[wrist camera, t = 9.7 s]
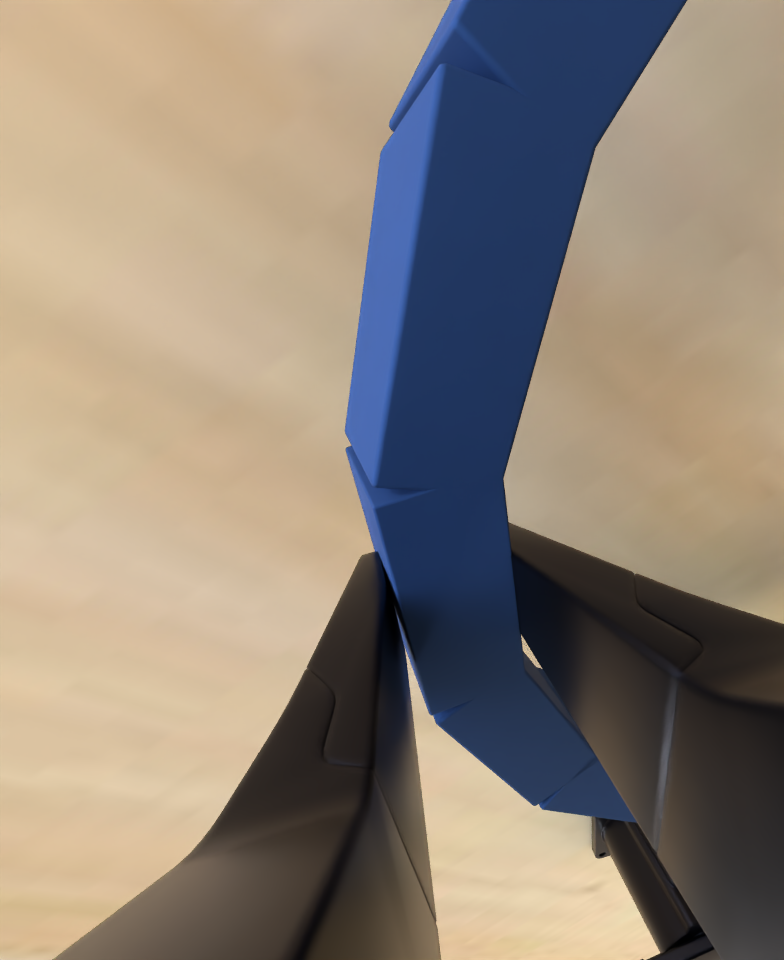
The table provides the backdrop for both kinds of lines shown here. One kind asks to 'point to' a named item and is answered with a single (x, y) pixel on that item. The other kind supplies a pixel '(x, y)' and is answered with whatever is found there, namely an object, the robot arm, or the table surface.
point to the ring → (481, 352)
